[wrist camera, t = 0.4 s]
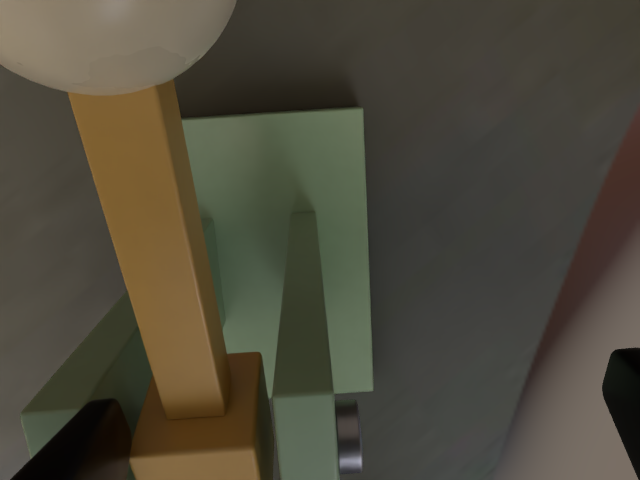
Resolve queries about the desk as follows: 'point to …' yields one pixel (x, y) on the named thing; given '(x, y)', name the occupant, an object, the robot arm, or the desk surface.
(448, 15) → the desk surface
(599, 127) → the desk surface
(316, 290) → the green lever stand
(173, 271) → the lever
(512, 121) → the desk surface
